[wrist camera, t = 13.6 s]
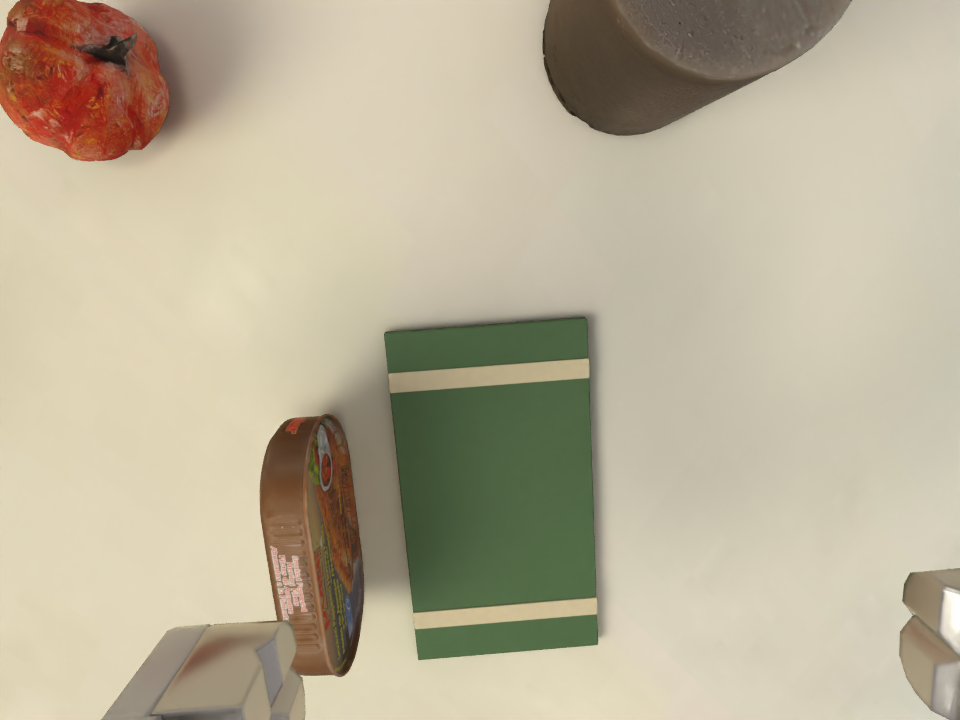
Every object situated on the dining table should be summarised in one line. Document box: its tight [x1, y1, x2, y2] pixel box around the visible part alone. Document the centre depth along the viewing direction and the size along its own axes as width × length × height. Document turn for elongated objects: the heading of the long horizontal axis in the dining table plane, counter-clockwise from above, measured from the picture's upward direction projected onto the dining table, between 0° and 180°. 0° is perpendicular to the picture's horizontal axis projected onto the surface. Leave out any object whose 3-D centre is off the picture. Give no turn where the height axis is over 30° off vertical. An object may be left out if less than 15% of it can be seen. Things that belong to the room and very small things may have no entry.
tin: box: [260, 414, 364, 677], centre depth 35 cm, size 15×3×8 cm, turn 4°
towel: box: [384, 317, 598, 660], centre depth 39 cm, size 12×22×1 cm, turn 4°
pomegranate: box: [0, 0, 170, 161], centre depth 31 cm, size 7×7×10 cm
